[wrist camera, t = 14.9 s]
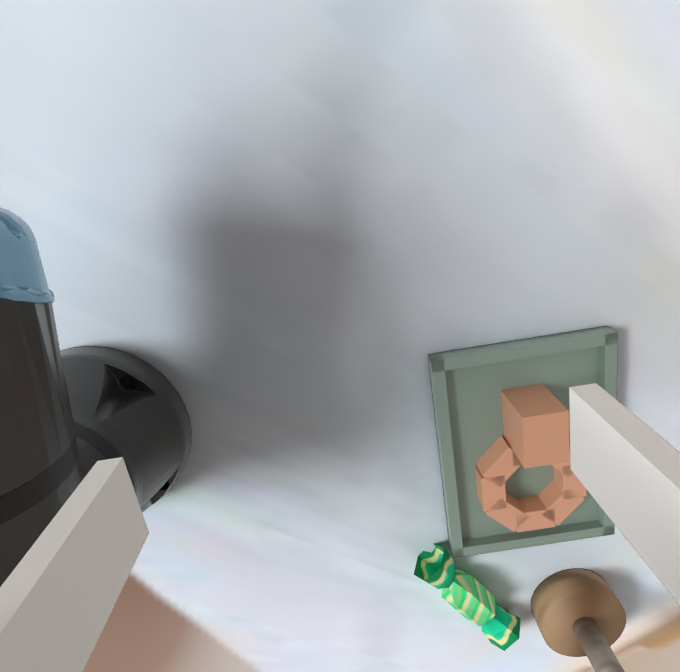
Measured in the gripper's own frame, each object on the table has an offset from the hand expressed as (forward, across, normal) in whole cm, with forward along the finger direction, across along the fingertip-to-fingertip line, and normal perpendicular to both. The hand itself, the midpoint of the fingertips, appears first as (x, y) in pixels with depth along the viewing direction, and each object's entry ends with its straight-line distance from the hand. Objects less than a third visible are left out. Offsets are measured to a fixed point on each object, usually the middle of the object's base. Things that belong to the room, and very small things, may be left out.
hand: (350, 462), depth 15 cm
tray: (+27, +14, -18) cm, 35 cm away
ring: (+26, +14, -19) cm, 35 cm away
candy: (+27, +8, -33) cm, 43 cm away
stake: (+27, +18, -37) cm, 49 cm away
